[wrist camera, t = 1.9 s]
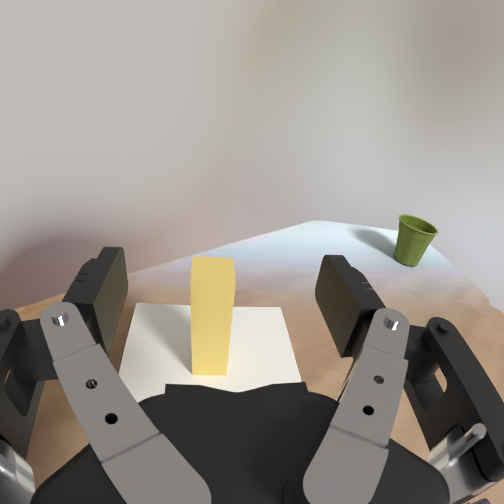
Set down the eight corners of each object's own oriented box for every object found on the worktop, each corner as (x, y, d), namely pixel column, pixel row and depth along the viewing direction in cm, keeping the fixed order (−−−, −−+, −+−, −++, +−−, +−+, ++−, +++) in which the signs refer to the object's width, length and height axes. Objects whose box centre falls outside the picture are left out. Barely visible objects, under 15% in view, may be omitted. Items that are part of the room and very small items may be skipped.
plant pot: (426, 276, 70) (441, 238, 65) (386, 263, 74) (399, 224, 68) (422, 257, 80) (434, 222, 74) (386, 245, 83) (397, 210, 78)
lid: (109, 437, 22) (63, 345, 15) (137, 308, 38) (128, 217, 32) (313, 438, 25) (363, 351, 18) (279, 313, 41) (297, 225, 35)
